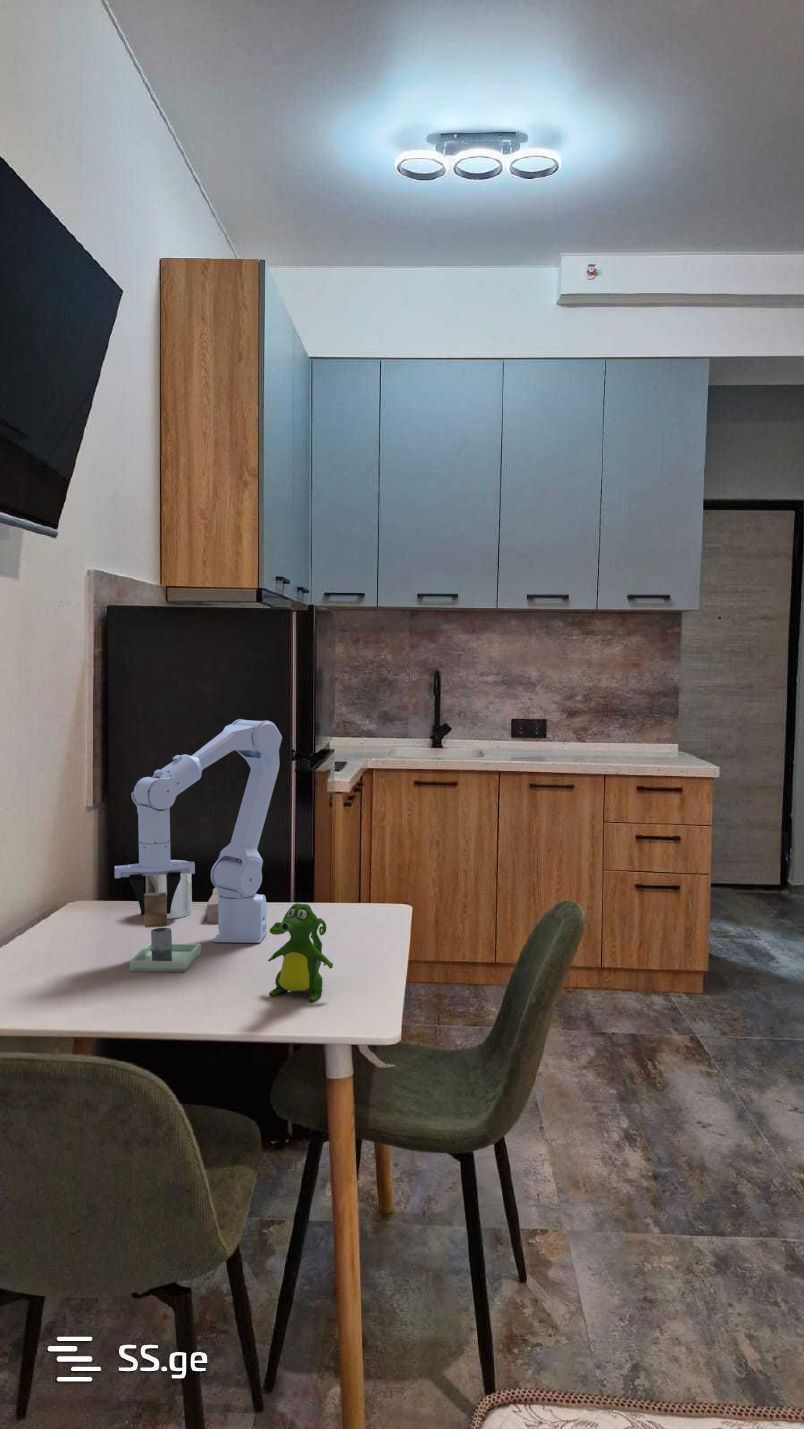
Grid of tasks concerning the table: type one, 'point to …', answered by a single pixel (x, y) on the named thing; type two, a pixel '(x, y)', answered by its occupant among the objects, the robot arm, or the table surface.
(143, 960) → the tray
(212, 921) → the brick
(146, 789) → the robot arm
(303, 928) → the toy
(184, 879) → the mug
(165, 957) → the peg
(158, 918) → the block
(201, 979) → the table surface
